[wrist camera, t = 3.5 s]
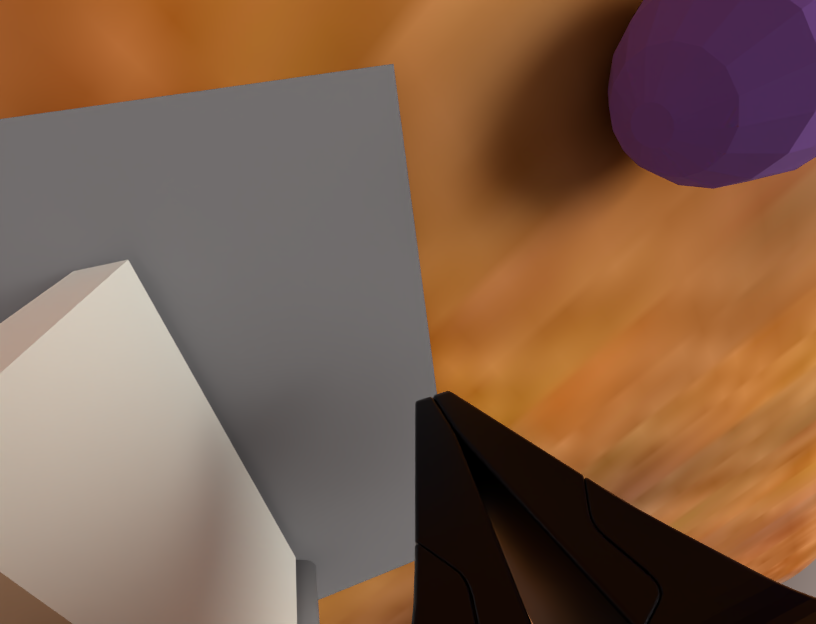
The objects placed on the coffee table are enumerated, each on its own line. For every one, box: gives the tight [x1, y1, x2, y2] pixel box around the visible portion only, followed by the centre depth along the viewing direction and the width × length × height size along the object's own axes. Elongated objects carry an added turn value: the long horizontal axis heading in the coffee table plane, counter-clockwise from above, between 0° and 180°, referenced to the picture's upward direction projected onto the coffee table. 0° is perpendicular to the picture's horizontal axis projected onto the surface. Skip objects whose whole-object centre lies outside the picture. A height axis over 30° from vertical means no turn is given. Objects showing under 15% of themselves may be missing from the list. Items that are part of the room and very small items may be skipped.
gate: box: [0, 260, 297, 624], centre depth 9 cm, size 14×2×7 cm, turn 9°
